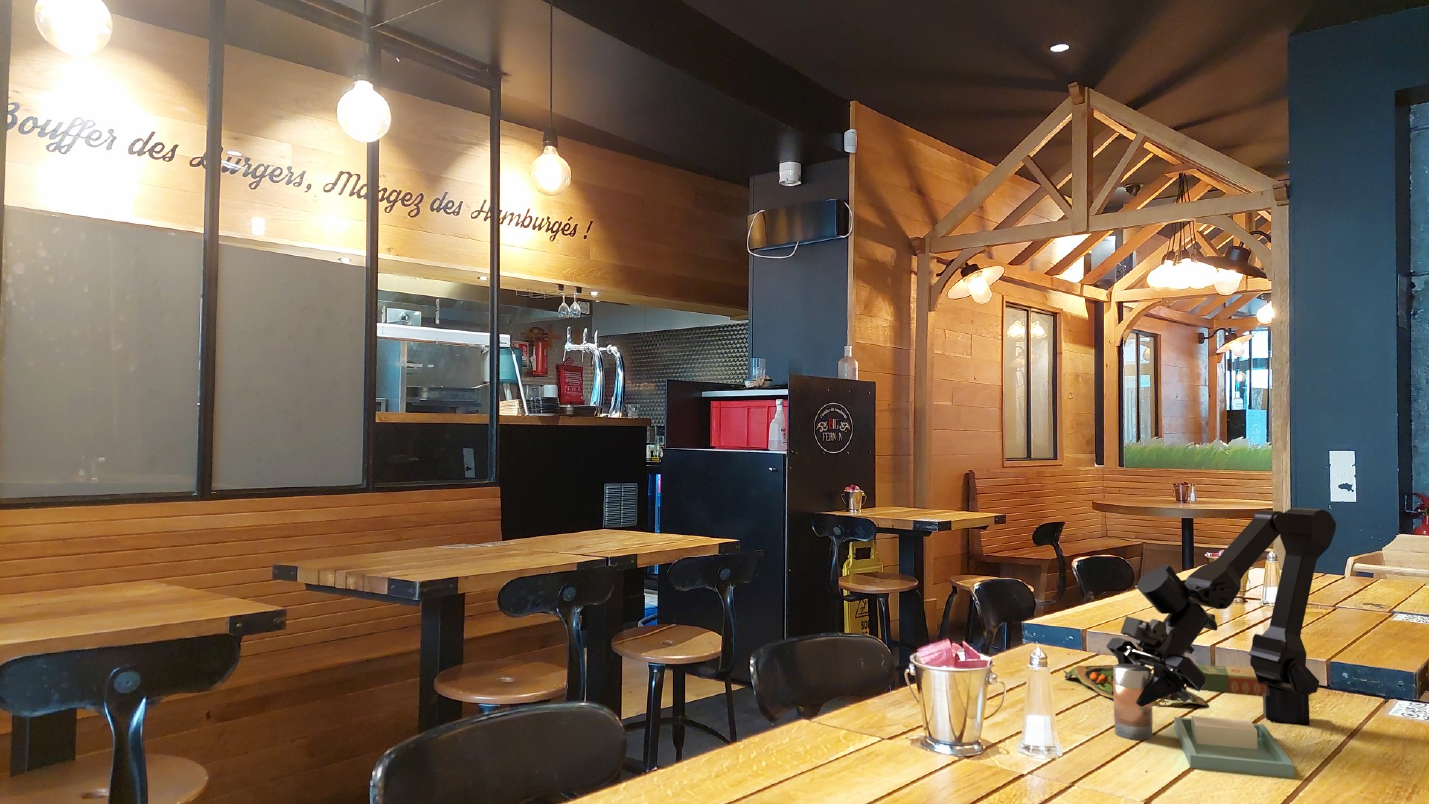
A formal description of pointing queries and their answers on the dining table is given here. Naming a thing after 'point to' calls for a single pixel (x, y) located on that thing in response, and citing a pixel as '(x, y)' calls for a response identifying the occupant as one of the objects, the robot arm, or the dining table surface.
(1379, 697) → the dining table surface
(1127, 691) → the tin can
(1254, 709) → the dining table surface
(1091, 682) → the prepared meal
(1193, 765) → the tray
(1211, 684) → the carton
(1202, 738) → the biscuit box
